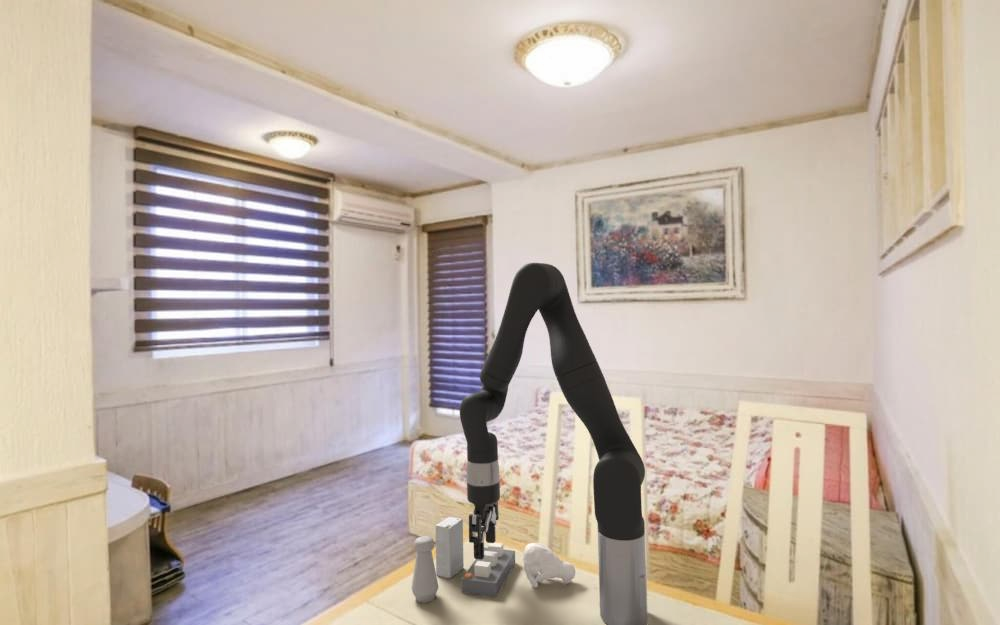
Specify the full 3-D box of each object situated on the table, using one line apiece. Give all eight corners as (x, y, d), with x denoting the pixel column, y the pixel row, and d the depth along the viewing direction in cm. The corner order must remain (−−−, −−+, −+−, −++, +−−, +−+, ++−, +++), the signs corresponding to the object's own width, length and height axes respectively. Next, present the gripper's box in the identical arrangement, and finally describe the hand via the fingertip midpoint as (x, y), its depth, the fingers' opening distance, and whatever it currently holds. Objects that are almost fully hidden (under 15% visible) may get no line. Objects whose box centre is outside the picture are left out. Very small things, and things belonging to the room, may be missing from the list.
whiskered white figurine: (525, 537, 124) (576, 543, 122) (523, 572, 124) (574, 580, 122) (522, 549, 117) (576, 556, 116) (520, 586, 118) (574, 594, 116)
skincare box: (449, 564, 129) (448, 515, 129) (464, 568, 127) (463, 518, 127) (435, 576, 124) (433, 524, 124) (451, 580, 122) (449, 527, 122)
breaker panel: (515, 562, 129) (514, 541, 129) (496, 597, 114) (495, 572, 114) (484, 559, 132) (483, 537, 132) (461, 592, 116) (461, 568, 116)
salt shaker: (433, 606, 111) (431, 545, 111) (408, 604, 112) (406, 543, 112) (442, 592, 117) (440, 533, 117) (417, 590, 118) (416, 532, 118)
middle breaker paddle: (497, 562, 123) (497, 552, 123) (494, 566, 121) (494, 556, 121) (484, 560, 124) (484, 550, 124) (481, 565, 122) (481, 554, 122)
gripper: (489, 490, 112) (491, 566, 112) (507, 471, 126) (509, 538, 126) (456, 488, 114) (458, 562, 114) (477, 469, 128) (479, 535, 128)
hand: (485, 550), depth 120 cm, fingers open, 8 cm apart
